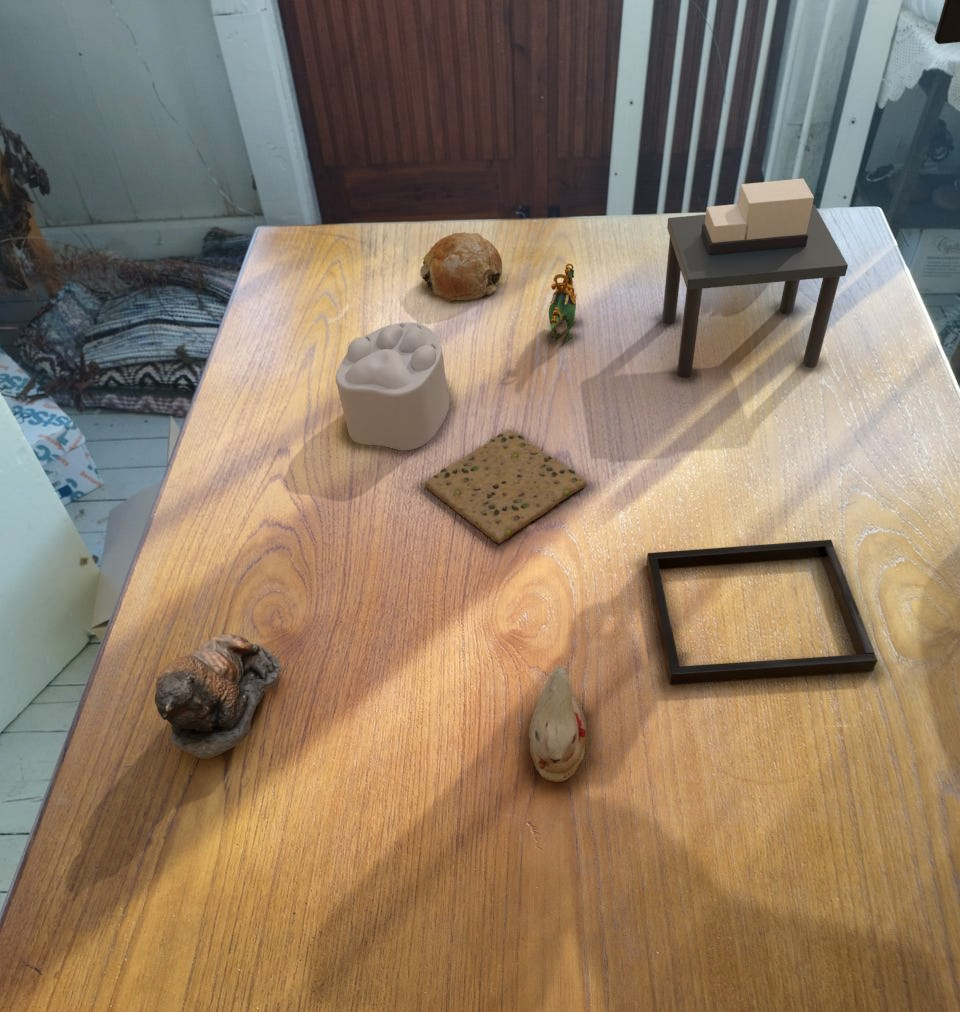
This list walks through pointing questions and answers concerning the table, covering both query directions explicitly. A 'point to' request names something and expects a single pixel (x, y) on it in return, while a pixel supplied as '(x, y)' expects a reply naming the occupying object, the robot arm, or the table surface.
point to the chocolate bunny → (557, 729)
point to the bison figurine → (215, 693)
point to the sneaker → (760, 218)
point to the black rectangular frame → (769, 668)
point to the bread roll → (462, 267)
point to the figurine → (563, 302)
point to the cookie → (504, 485)
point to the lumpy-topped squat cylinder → (394, 387)
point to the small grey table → (749, 278)
